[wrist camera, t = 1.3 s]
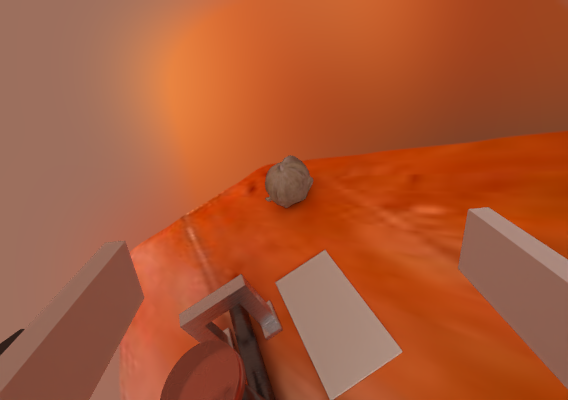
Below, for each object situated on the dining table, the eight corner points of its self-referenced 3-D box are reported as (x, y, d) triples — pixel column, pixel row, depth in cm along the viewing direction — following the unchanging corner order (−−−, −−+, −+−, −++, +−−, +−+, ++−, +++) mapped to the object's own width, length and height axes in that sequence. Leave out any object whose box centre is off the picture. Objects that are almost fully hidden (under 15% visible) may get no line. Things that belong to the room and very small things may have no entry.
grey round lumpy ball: (313, 192, 64) (308, 145, 60) (318, 211, 57) (313, 160, 52) (268, 198, 64) (259, 152, 60) (267, 218, 57) (258, 168, 52)
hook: (256, 285, 48) (204, 225, 41) (321, 456, 29) (247, 404, 21) (218, 310, 48) (158, 254, 40) (258, 499, 29) (159, 463, 21)
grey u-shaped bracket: (271, 302, 45) (240, 265, 40) (282, 329, 41) (249, 292, 36) (216, 338, 44) (177, 306, 39) (222, 370, 40) (179, 338, 35)
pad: (325, 251, 47) (325, 249, 47) (402, 352, 33) (401, 350, 32) (276, 283, 47) (275, 282, 47) (331, 400, 32) (329, 399, 32)
